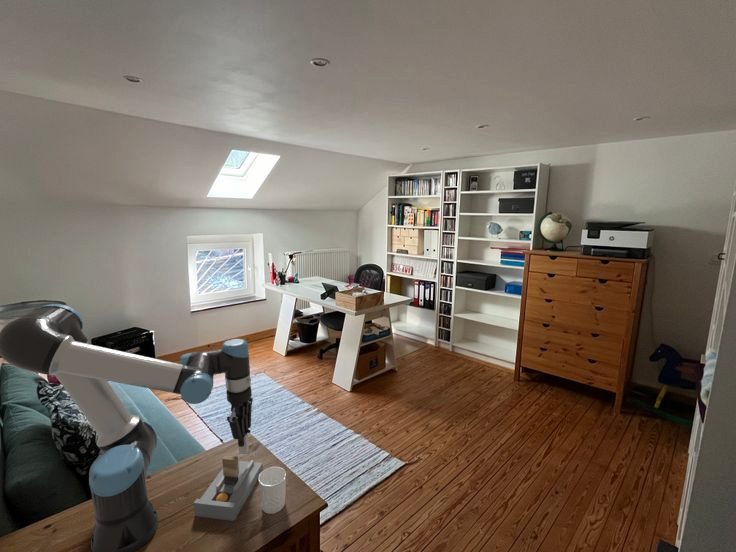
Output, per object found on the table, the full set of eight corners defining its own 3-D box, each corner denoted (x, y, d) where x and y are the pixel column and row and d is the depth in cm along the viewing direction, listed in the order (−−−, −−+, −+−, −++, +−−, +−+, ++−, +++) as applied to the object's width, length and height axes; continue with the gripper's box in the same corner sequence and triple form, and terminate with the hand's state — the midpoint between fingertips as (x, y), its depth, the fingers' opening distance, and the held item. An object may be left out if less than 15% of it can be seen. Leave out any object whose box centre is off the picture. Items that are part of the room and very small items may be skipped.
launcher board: (229, 467, 124) (228, 455, 123) (262, 470, 122) (262, 459, 122) (194, 516, 104) (193, 502, 104) (234, 520, 103) (233, 507, 102)
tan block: (226, 478, 114) (224, 455, 113) (239, 480, 114) (238, 456, 112) (223, 483, 112) (221, 459, 111) (236, 485, 112) (235, 461, 110)
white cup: (280, 518, 104) (278, 488, 102) (255, 513, 106) (253, 483, 104) (291, 496, 112) (290, 468, 110) (267, 492, 113) (266, 464, 111)
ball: (212, 500, 106) (218, 489, 109) (214, 508, 107) (220, 497, 110) (223, 502, 105) (229, 490, 108) (225, 510, 106) (231, 498, 110)
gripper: (239, 398, 108) (245, 467, 113) (258, 378, 121) (263, 440, 126) (216, 396, 110) (223, 464, 114) (237, 376, 122) (242, 438, 127)
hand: (244, 452), depth 120 cm, fingers closed
